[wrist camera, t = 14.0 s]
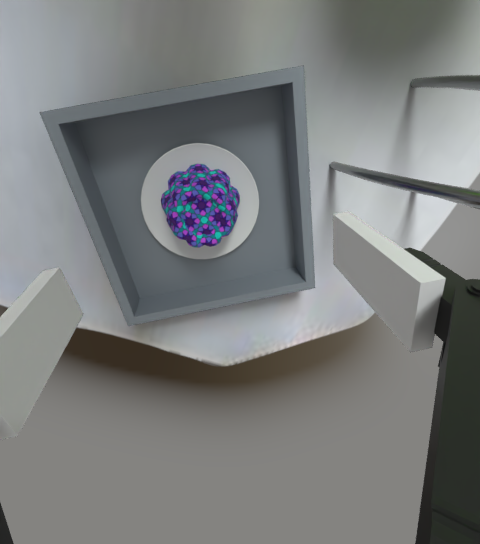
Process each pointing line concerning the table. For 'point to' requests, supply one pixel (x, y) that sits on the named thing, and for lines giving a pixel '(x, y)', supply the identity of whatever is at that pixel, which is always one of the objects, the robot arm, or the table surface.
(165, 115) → the bin
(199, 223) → the pudding
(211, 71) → the table surface
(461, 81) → the juicer
